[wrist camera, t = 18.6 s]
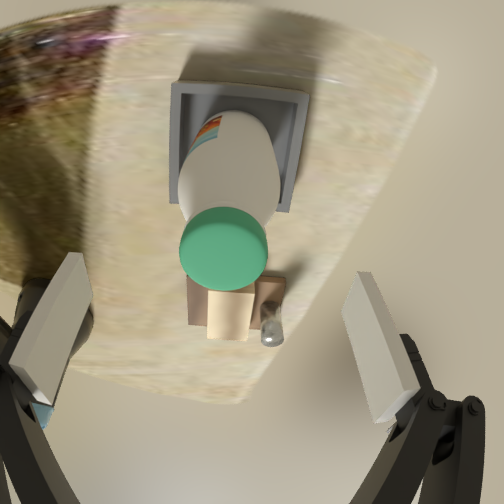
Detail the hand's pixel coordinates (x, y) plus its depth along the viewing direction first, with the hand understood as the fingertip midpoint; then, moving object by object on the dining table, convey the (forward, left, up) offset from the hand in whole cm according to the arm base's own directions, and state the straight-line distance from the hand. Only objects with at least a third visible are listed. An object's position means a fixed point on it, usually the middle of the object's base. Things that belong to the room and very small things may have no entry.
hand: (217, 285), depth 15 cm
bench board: (+2, -23, -23) cm, 33 cm away
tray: (0, 0, -23) cm, 23 cm away
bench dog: (+7, -23, -21) cm, 32 cm away
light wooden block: (+1, -23, -21) cm, 32 cm away
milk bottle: (0, 0, -22) cm, 22 cm away
